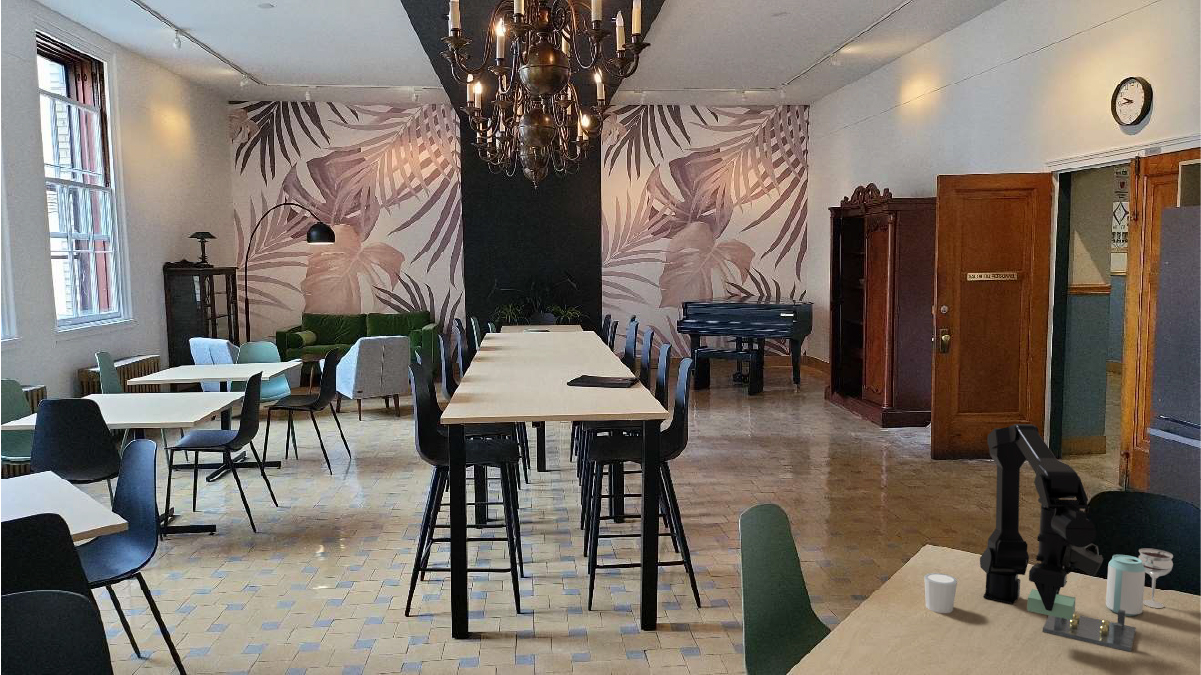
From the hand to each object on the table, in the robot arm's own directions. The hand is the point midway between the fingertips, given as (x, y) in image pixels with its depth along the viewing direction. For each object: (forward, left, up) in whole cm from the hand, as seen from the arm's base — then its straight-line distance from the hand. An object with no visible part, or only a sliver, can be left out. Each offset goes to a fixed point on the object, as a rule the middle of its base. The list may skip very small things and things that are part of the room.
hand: (1051, 605), depth 178 cm
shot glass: (-23, +6, -8) cm, 25 cm away
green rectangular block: (0, 0, -1) cm, 1 cm away
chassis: (+6, +12, -8) cm, 16 cm away
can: (+11, +29, -8) cm, 32 cm away
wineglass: (+16, +37, -8) cm, 41 cm away
